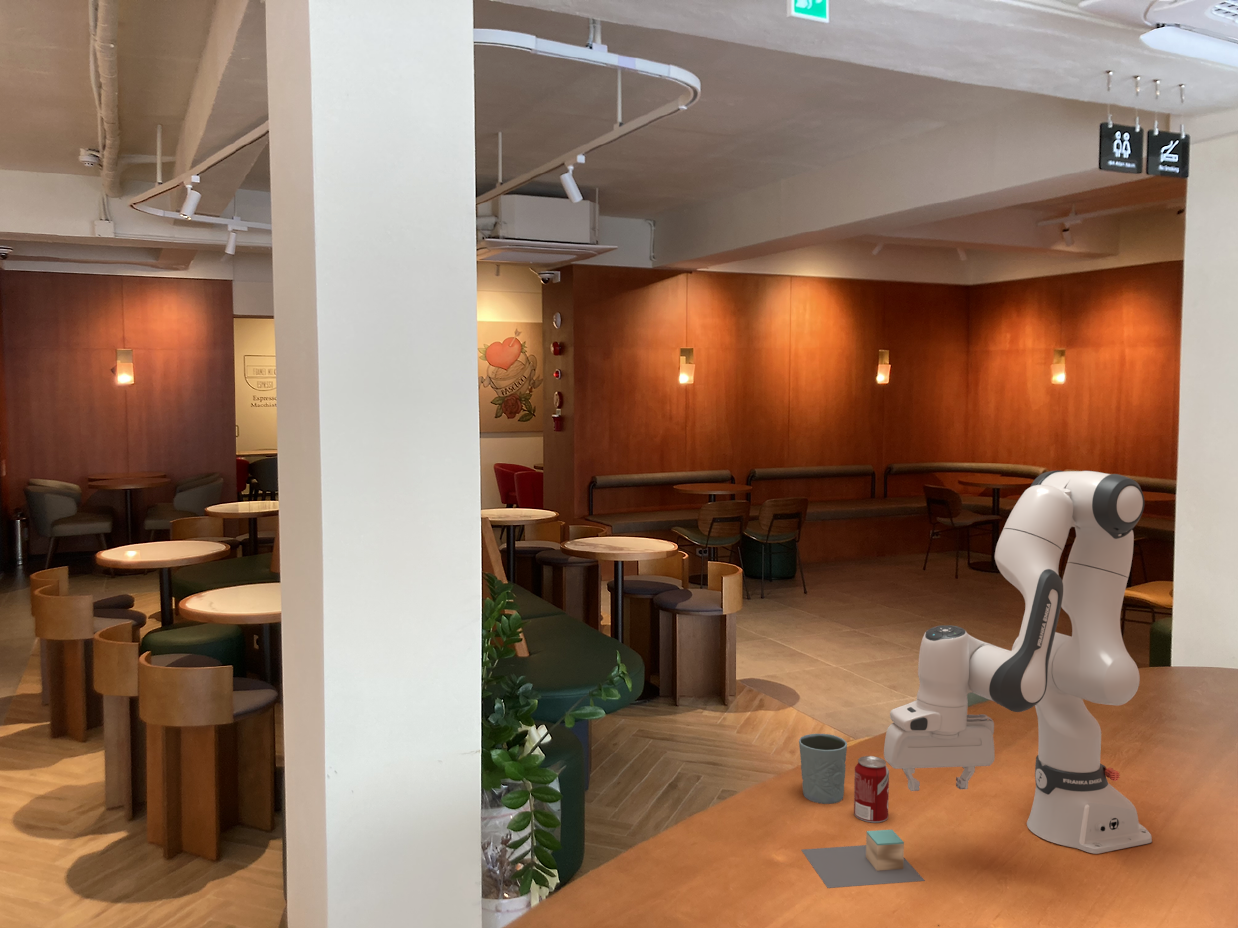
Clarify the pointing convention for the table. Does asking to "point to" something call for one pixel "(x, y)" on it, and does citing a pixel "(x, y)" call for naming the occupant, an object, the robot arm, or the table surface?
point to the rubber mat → (854, 868)
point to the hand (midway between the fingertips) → (937, 788)
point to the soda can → (871, 789)
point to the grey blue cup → (823, 767)
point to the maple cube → (884, 849)
